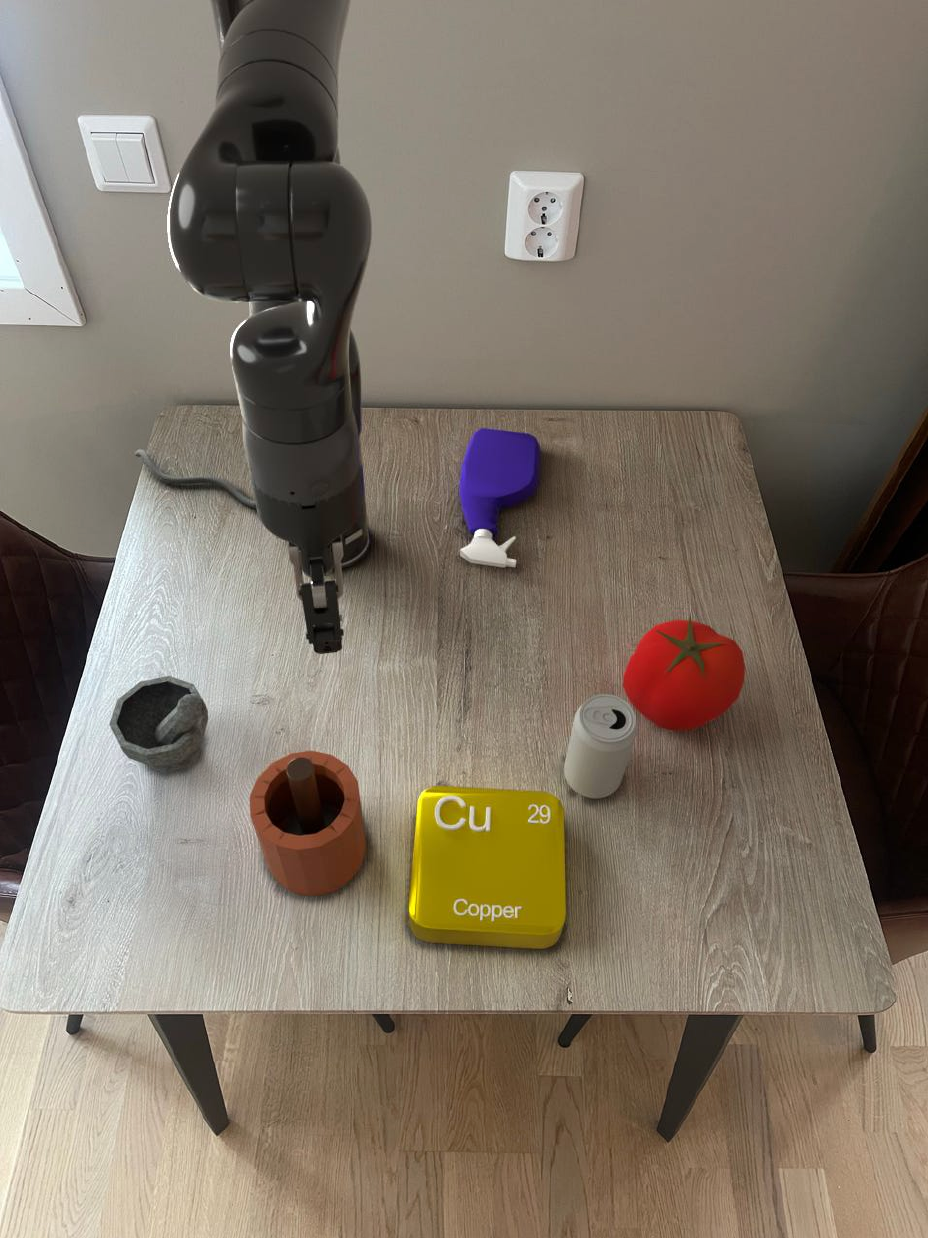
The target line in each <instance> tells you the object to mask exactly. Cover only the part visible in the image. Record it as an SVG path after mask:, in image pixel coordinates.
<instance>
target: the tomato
mask: <svg viewBox="0 0 928 1238" xmlns="http://www.w3.org/2000/svg"><path fill="white" fill-rule="evenodd" d="M691 614H692V613H691V612H690V613H689V619H688V620H687V619H674V620H673V619H672V620H670V621H669V620H668V621H665V622H661V623H659V624H656V625H654V626H653V627H652V628H651V629H649V630H648V631H647V632H646V633H645V634H644V635H643V636H642V637H641V639H640V640H639V641H638V644H637V646H636V647H635V650H634V653H633V654H632V655H631V656H630V657H629V660H628V663H627V666H626V668H625V670H624V673H623V679H622V687H623V688H622V689H623V690H624V692H625V694H626V697H627V698H628V700H629V702H630V703H631V705H632V706H633V708H634V709H635V710H636V711H637V712H638V713H640V714H641V715H642V716H643V717H644V718H645V719H647V720H648V721H650V723H652V724H654V725H655V726H657V727H658V728H660V729H664V730H668V731H672V732H677V731H678V732H679V731H691V730H696V729H698V728H701V727H702V726H704V725H706V724H708V723H710V722H711V721H714V720H715V719H717V718H719V717H720V716H722V715H723V714H724V713H726V712H727V711H728V710H729V709H730V708H731V706H732V705H734V703H735V702H736V701H737V700H738V699H739V697H740V695H741V691H742V688H743V685H744V682H745V675H746V674H745V673H746V665H745V660H744V659H745V658H744V653H743V649H741V648H740V646H739V645H738V643H737V642H736V640H735V639H732V638H730V637H727V636H725V635H722V634H720V633H718V632H717V631H716V630H714V628H713V627H712V626H710V625H709V624H705V623H701V622H698V621H694V620H692V615H691Z"/></svg>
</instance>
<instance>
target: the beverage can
mask: <svg viewBox="0 0 928 1238" xmlns="http://www.w3.org/2000/svg"><path fill="white" fill-rule="evenodd" d="M573 718H574V719H573V724H572V728H571V732H570V737H569V741H568V745H567V746H568V747H567V750H566V755H565V760H564V765H563V774H564V778H565V781H566V782H567V784H568V786H569V787H570V788H571V789H572V790H573V791H574V792H575V793H577V794H578V795H580V796H582V797H585V798H587V799H588V798H589V799H602V798H606V797H609V796H611V795H612V794H614V793H615V792H616V791H617V789H619V788H620V785H621V784H622V781H623V779H624V778H623V777H624V775H625V771H626V768H627V766H628V762H629V760H630V759H629V758H630V756H631V753H632V750H633V746H634V744H635V740H636V737H637V734H638V721H637V717H636V713H635V711H634V709H633V707H632V706H631V705H630V703H628V701H626V700H625V699H623V698H622V697H619V696H617V695H614V694H610V693H602V694H601V693H600V694H599V693H598V694H594V695H592V696H590V697H589V698H588V699H586V700H585V701H584V702H583V704H581V705H580V706H579V707H578V708H577V710H576V712H575V715H574V717H573Z"/></svg>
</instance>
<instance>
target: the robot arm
mask: <svg viewBox="0 0 928 1238" xmlns="http://www.w3.org/2000/svg"><path fill="white" fill-rule="evenodd" d="M209 1H210V7H211V11H212V18H213V22H214V23H213V24H214V28H215V34H216V39H217V45H218V51H219V59H218V60H219V61H218V69H217V78H216V79H217V81H216V91H215V92H216V93H215V104H214V110H213V112H212V113H211V114H210V117H209V118H208V121H207V123H206V124H205V126H204V128H203V129H202V131H201V132H200V134H199V136H198V138H197V139H196V141H195V143H194V144H193V145H192V147H191V149H190V151H189V153H188V154H187V156H186V157H185V159H184V161H183V163H182V165H181V167H180V169H179V172H178V174H177V176H176V179H175V182H174V185H173V187H172V192H171V196H170V200H169V205H168V214H167V237H168V243H169V248H170V252H171V256H172V259H173V261H174V263H175V266H176V268H177V270H178V271H179V273H180V275H181V276H182V278H183V279H184V281H185V282H186V283H187V284H188V285H189V286H190V287H191V288H192V289H193V290H194V291H195V292H196V293H198V294H199V295H200V296H202V297H204V298H206V299H209V300H212V301H215V302H221V303H248V308H249V311H248V313H249V317H247V318H246V319H245V320H243V322H241V323H240V324H239V325H238V327H237V328H236V329H235V331H234V332H233V335H232V337H231V341H230V348H229V349H230V350H229V351H230V362H231V369H232V374H233V379H234V382H235V383H234V385H235V388H236V393H237V399H238V403H239V409H240V413H241V418H242V420H241V421H242V441H243V442H242V443H243V447H244V454H245V458H246V462H247V463H246V464H247V467H248V472H249V478H250V482H251V489H252V492H253V497H254V499H251V498H249V497H248V496H246V495H245V494H244V493H242V492H241V491H240V490H239V489H238V488H237V487H236V486H234V485H233V484H232V483H231V482H228V481H227V480H225V479H223V478H220V477H216V476H209V475H198V476H197V475H195V476H172V475H168V474H166V473H165V472H162V471H161V470H160V469H159V467H157V465H156V464H155V463H154V461H153V459H152V458H151V456H150V455H149V454H148V452H146V450H144V449H137V450H136V451H135V452H134V456H135V457H137V458H140V457H141V459H142V460H143V461H144V463H145V465H146V466H147V468H148V469H149V471H151V473H152V474H153V476H155V477H157V478H158V479H159V480H161V481H162V482H165V483H168V484H173V485H174V484H175V485H192V484H193V485H195V484H210V485H216V486H220V487H222V488H224V489H225V490H227V491H228V492H230V493H231V494H232V495H233V496H234V497H235V498H237V499H238V500H239V502H241V503H242V504H244V505H246V506H247V507H250V508H255V509H256V512H257V516H258V518H259V521H260V523H262V525H263V527H264V528H265V529H266V530H267V531H269V533H271V534H272V535H274V536H275V537H276V538H278V539H280V540H283V541H285V542H287V551H288V559H289V562H290V563H291V565H292V566H293V571H294V580H295V588H296V597H297V598H298V600H300V601H301V602H302V608H303V615H304V621H305V627H306V632H305V638H306V640H308V645H313V646H312V647H313V652H314V653H316V654H319V655H324V654H326V655H327V654H335V653H338V652H340V651H341V650H342V649H343V644H342V643H343V642H342V641H343V637H344V628H342V623H341V622H343V615H342V614H340V606H339V599H340V598H341V597H343V595H344V593H345V589H344V582H343V581H344V580H343V571H342V569H346V568H348V567H351V566H353V565H355V564H356V563H359V561H360V560H361V559H363V558H364V557H365V555H366V554H367V552H368V550H369V547H370V533H369V527H368V515H367V514H368V513H367V501H366V490H365V476H364V464H363V462H364V461H363V452H362V439H361V436H362V435H361V434H362V431H363V413H362V412H363V411H362V409H363V408H362V366H361V365H362V364H361V358H360V353H359V352H360V351H359V347H358V344H357V341H356V338H355V334H354V332H353V330H352V323H353V318H354V313H355V309H356V305H357V301H358V298H359V295H360V291H361V287H362V284H363V280H364V277H365V274H366V271H367V270H366V269H367V266H368V261H369V258H370V257H369V256H370V251H371V247H372V239H373V218H372V210H371V208H370V202H369V200H368V197H367V194H366V193H365V190H364V188H363V187H362V185H361V184H360V182H359V180H358V178H356V177H355V176H354V175H353V173H352V172H351V171H350V170H349V169H347V168H346V167H344V166H343V165H341V154H340V150H339V65H340V57H341V56H340V55H341V49H342V43H343V38H344V34H345V29H346V25H347V21H348V18H349V17H348V16H349V11H350V6H351V0H209ZM333 571H334V578H335V579H333V580H325V579H326V577H329V576H330V575H331V574H332V573H333ZM303 575H305V577H307V578H310V582H304V576H303Z"/></svg>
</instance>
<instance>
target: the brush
mask: <svg viewBox="0 0 928 1238" xmlns="http://www.w3.org/2000/svg"><path fill="white" fill-rule="evenodd" d="M286 772H287V776H288V780H289V784H290V788H291V792H292V796H293V800H294V804H295V808H296V810H295V811H294V812H293V813H292V814H291V816H290V817H289V819H288V821H287V823H286V828H285V833H288V834H293V835H297V836H304V835H310V834H316V833H318V832H320V831H322V830H323V829H325V828H327V827H329V826H330V825H331V824H332V823H333V822H334V821H335V819H336V818H337V817H338V816H339V815H338V813H337V812H336V811H335V810H334V809H333V808H332V807H330V806H328V805H326V804H322V803H321V801H320V796H319V792H318V787H317V782H316V777H315V772H314V767H313V764H312V762H311V761H310V760H309V759H307V758H304V757H298V758H295V759H293V760H292V761H290V762H289V764H288V766H287V769H286Z"/></svg>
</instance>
